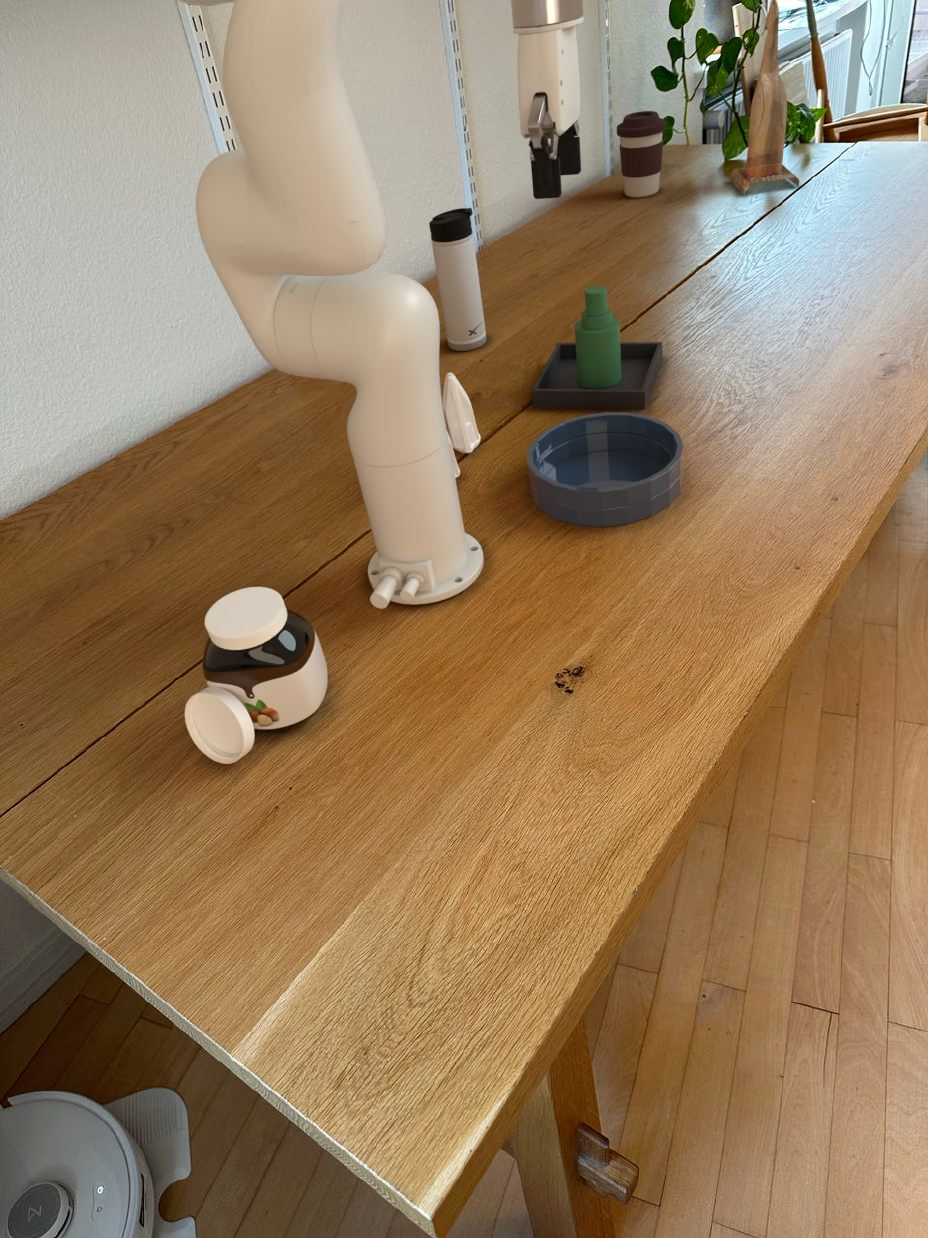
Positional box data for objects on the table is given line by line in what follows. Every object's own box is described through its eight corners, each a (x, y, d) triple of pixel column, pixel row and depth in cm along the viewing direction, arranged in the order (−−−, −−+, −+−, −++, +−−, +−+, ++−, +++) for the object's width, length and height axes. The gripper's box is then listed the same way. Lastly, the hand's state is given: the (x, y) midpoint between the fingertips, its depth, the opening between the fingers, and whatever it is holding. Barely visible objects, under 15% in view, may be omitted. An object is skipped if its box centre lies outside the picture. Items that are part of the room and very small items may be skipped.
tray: (645, 411, 114) (644, 391, 112) (533, 409, 119) (531, 390, 117) (662, 360, 125) (662, 341, 123) (559, 360, 130) (557, 342, 128)
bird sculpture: (781, 173, 184) (796, -12, 163) (801, 187, 175) (819, -7, 154) (728, 182, 184) (736, -1, 164) (745, 197, 175) (756, 5, 155)
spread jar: (340, 673, 84) (309, 578, 76) (321, 765, 75) (283, 667, 67) (220, 683, 85) (178, 590, 78) (188, 773, 76) (138, 679, 69)
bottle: (617, 389, 118) (613, 297, 110) (573, 388, 120) (567, 298, 112) (624, 369, 122) (622, 280, 114) (583, 369, 124) (577, 281, 116)
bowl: (670, 534, 93) (670, 494, 90) (514, 524, 98) (509, 486, 95) (691, 451, 105) (692, 413, 102) (551, 446, 111) (547, 410, 107)
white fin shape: (460, 437, 116) (447, 358, 109) (489, 440, 114) (478, 360, 107) (421, 485, 108) (404, 404, 101) (451, 489, 106) (436, 406, 99)
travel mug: (485, 350, 136) (467, 216, 124) (444, 352, 138) (422, 220, 125) (492, 333, 141) (475, 202, 128) (452, 336, 142) (432, 206, 130)
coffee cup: (612, 192, 191) (610, 115, 181) (655, 182, 192) (655, 105, 182) (627, 203, 183) (625, 123, 174) (672, 193, 184) (672, 113, 174)
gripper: (534, 4, 99) (546, 168, 110) (489, 27, 87) (507, 209, 98) (599, -5, 97) (604, 164, 108) (562, 18, 85) (572, 205, 95)
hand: (558, 185), depth 103 cm, fingers open, 9 cm apart
